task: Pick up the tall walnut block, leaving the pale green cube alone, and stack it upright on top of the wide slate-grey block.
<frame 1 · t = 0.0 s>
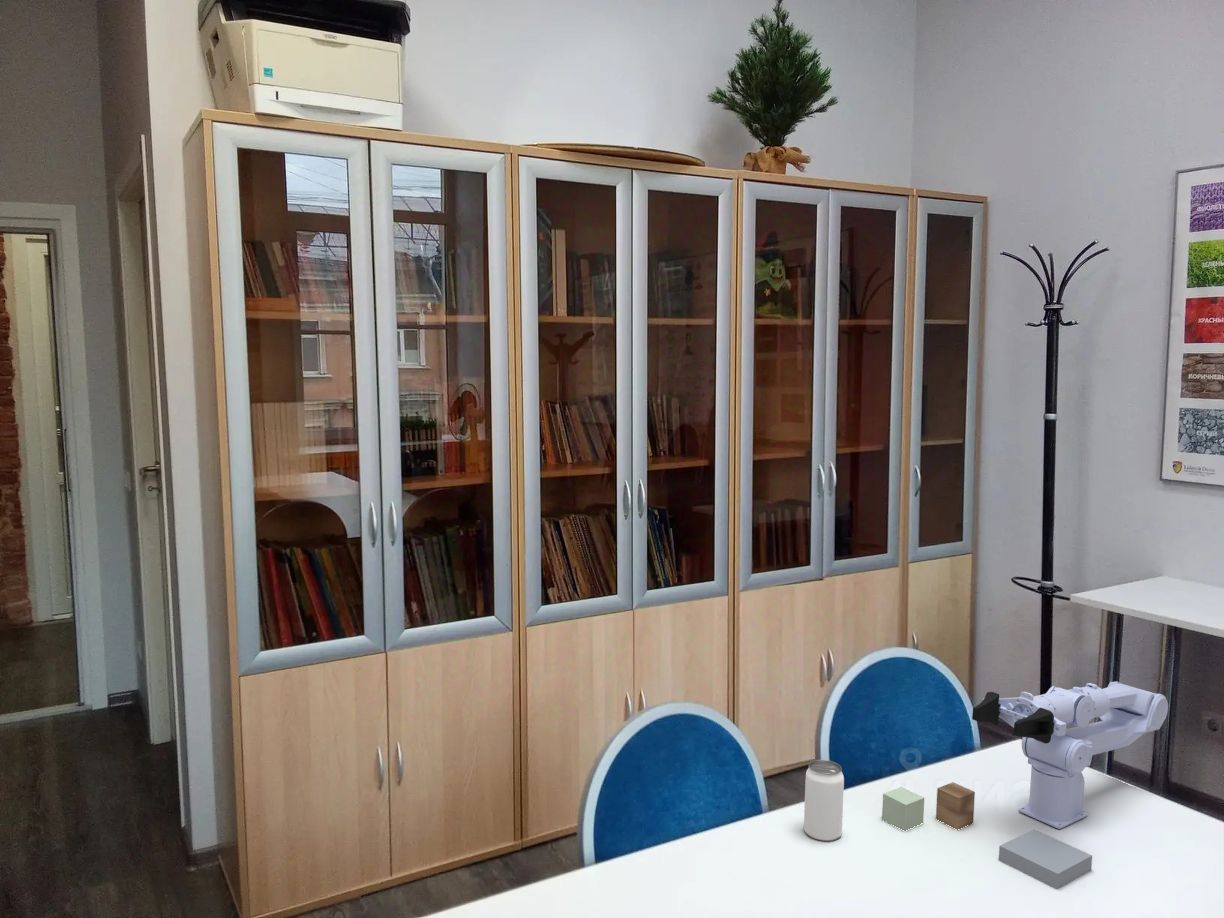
hand: (994, 721, 153), 22 cm above the table, tool horizontal, fingers open, 7 cm apart
grey block: (1044, 868, 149), on the table
can: (822, 833, 158), on the table
green cube: (902, 822, 162), on the table
walnut block: (954, 822, 163), on the table
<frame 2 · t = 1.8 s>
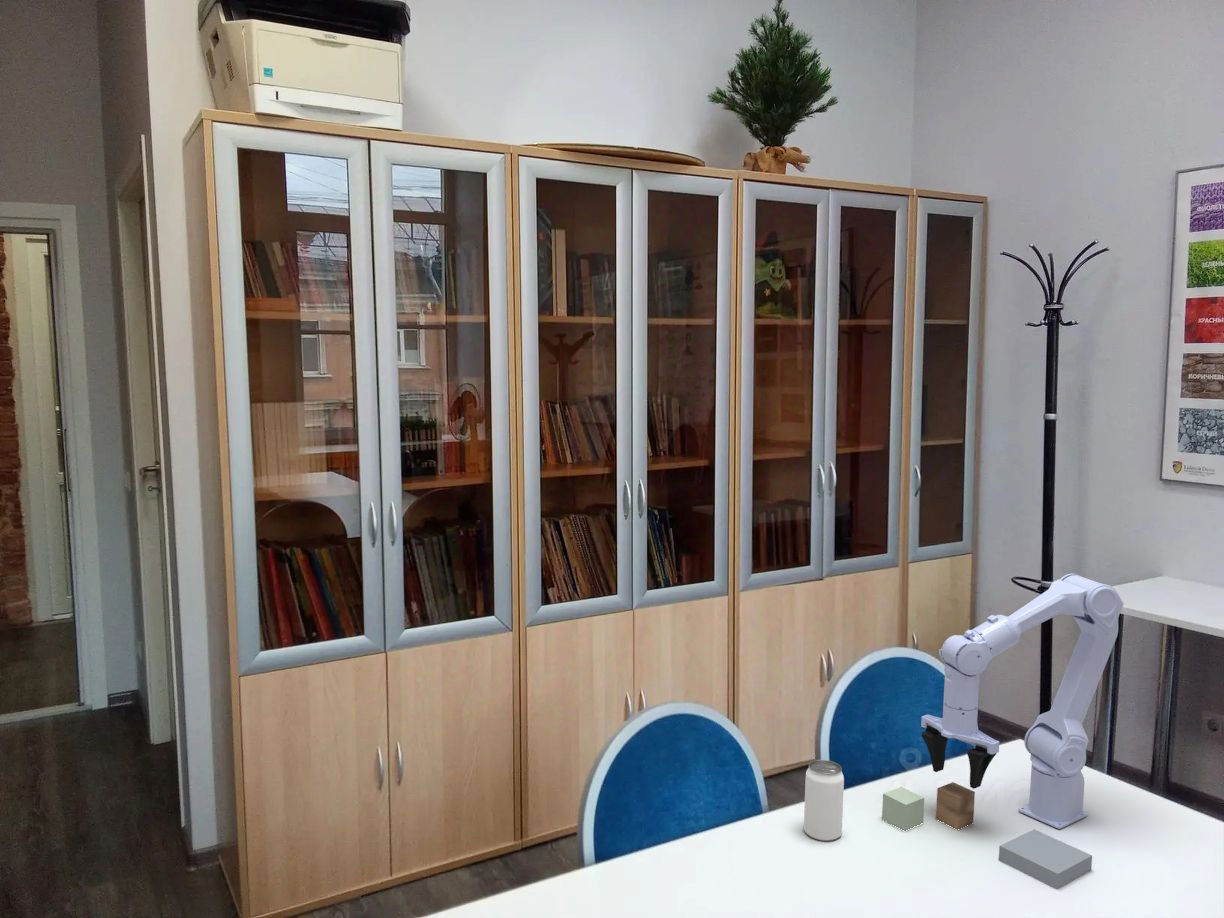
hand: (956, 778, 162), 8 cm above the table, tool pointing down, fingers open, 7 cm apart
nothing on the table moved.
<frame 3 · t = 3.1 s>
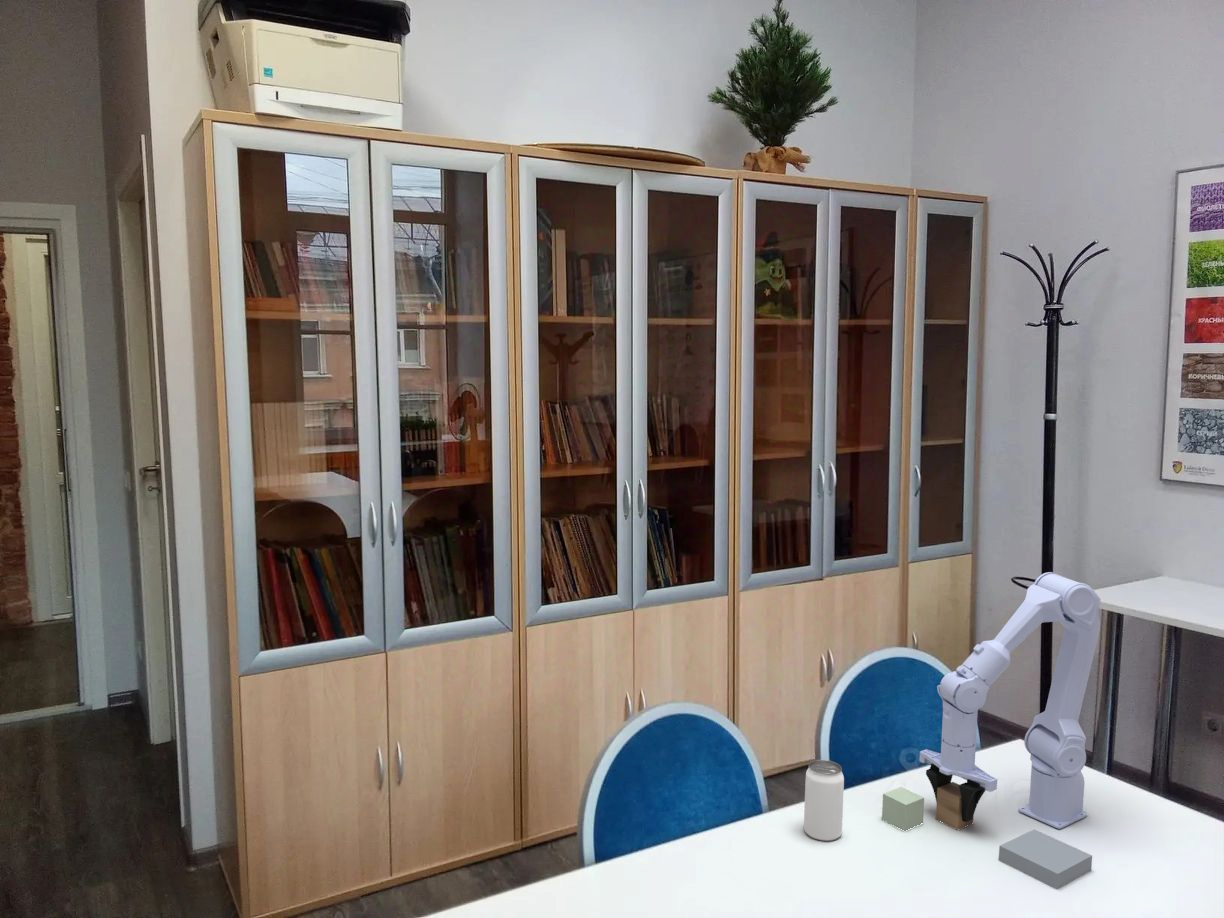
hand: (954, 814, 163), 1 cm above the table, tool pointing down, fingers closed on walnut block, 4 cm apart
walnut block: (954, 821, 163), on the table, touching gripper
everything else where it was.
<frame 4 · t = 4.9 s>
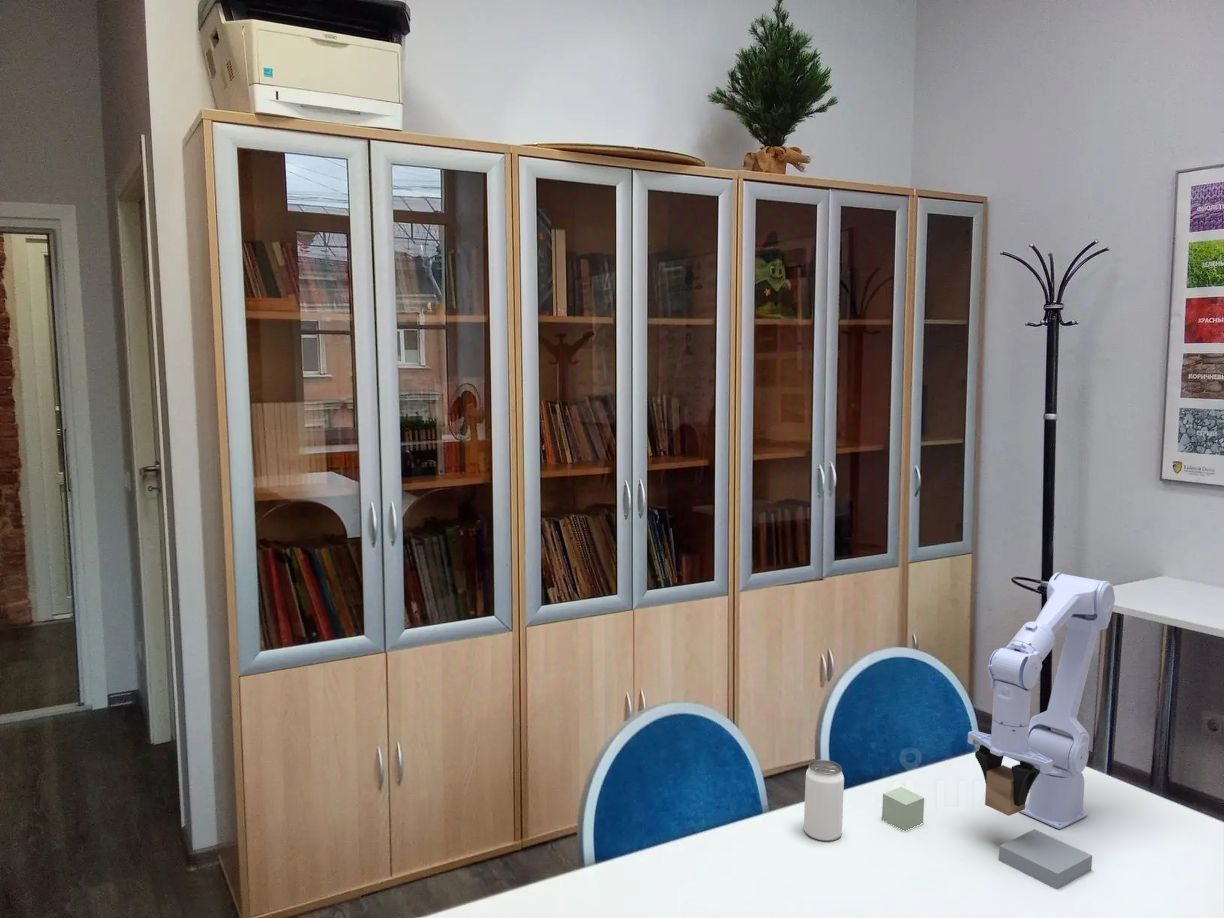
hand: (1006, 798, 154), 8 cm above the table, tool pointing down, fingers closed on walnut block, 4 cm apart
walnut block: (1004, 806, 154), point 7 cm above the table, touching gripper
everything else where it was.
when the fingers open (5 cm above the table, at t = 6.7 s): walnut block stays where it is, resting on grey block.
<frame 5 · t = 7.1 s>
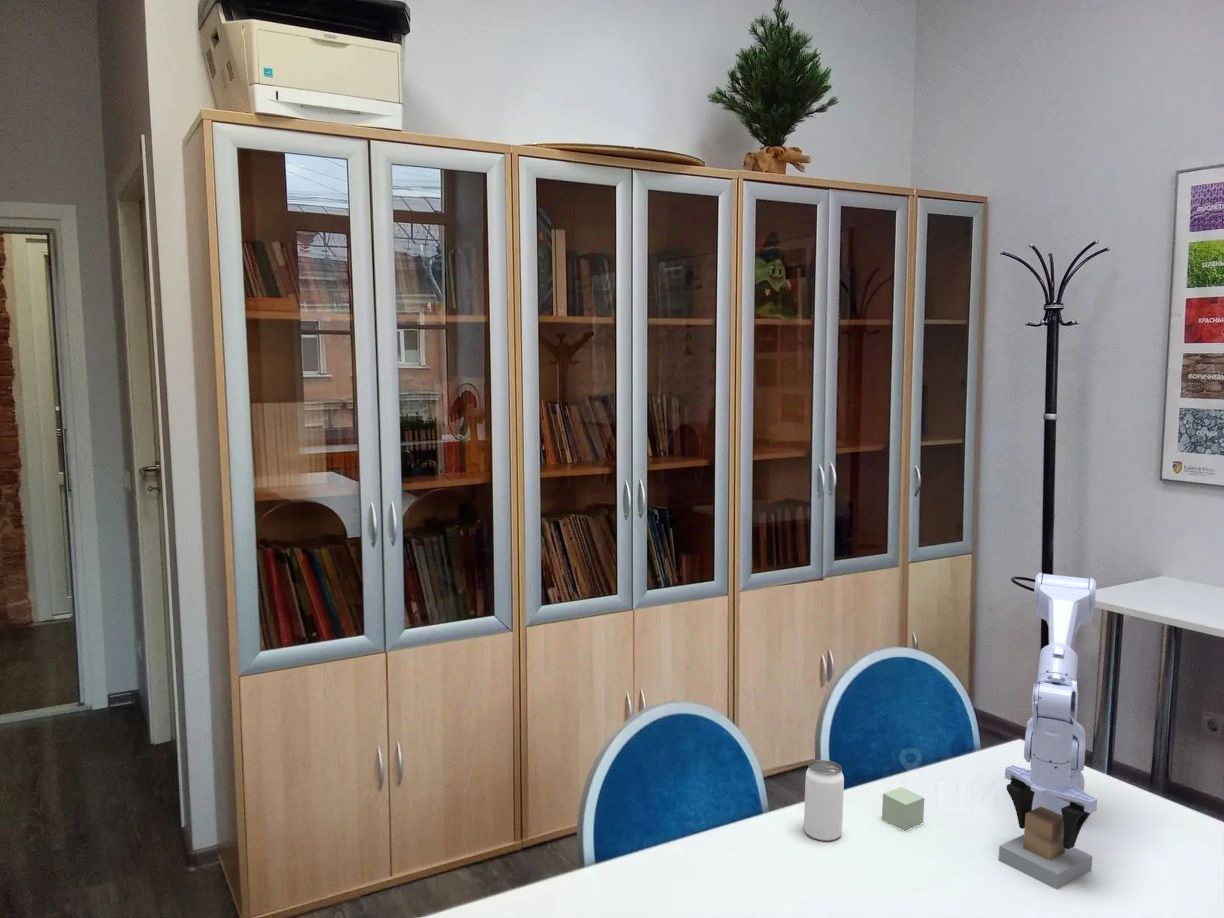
hand: (1046, 836, 148), 5 cm above the table, tool pointing down, fingers open, 7 cm apart
grey block: (1044, 868, 149), on the table, touching walnut block
walnut block: (1044, 850, 148), point 2 cm above the table, touching grey block
everything else where it was.
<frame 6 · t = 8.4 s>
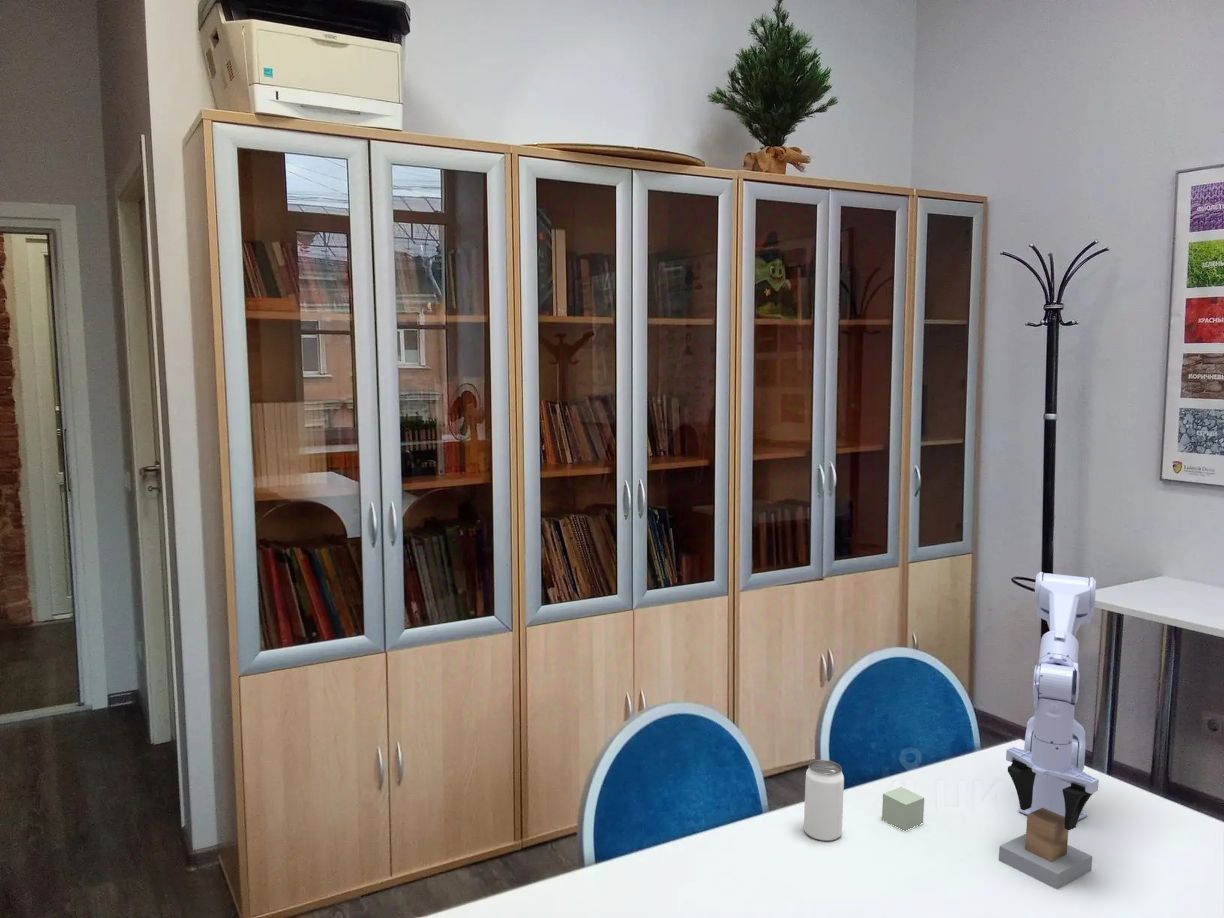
hand: (1047, 817, 148), 8 cm above the table, tool pointing down, fingers open, 7 cm apart
nothing on the table moved.
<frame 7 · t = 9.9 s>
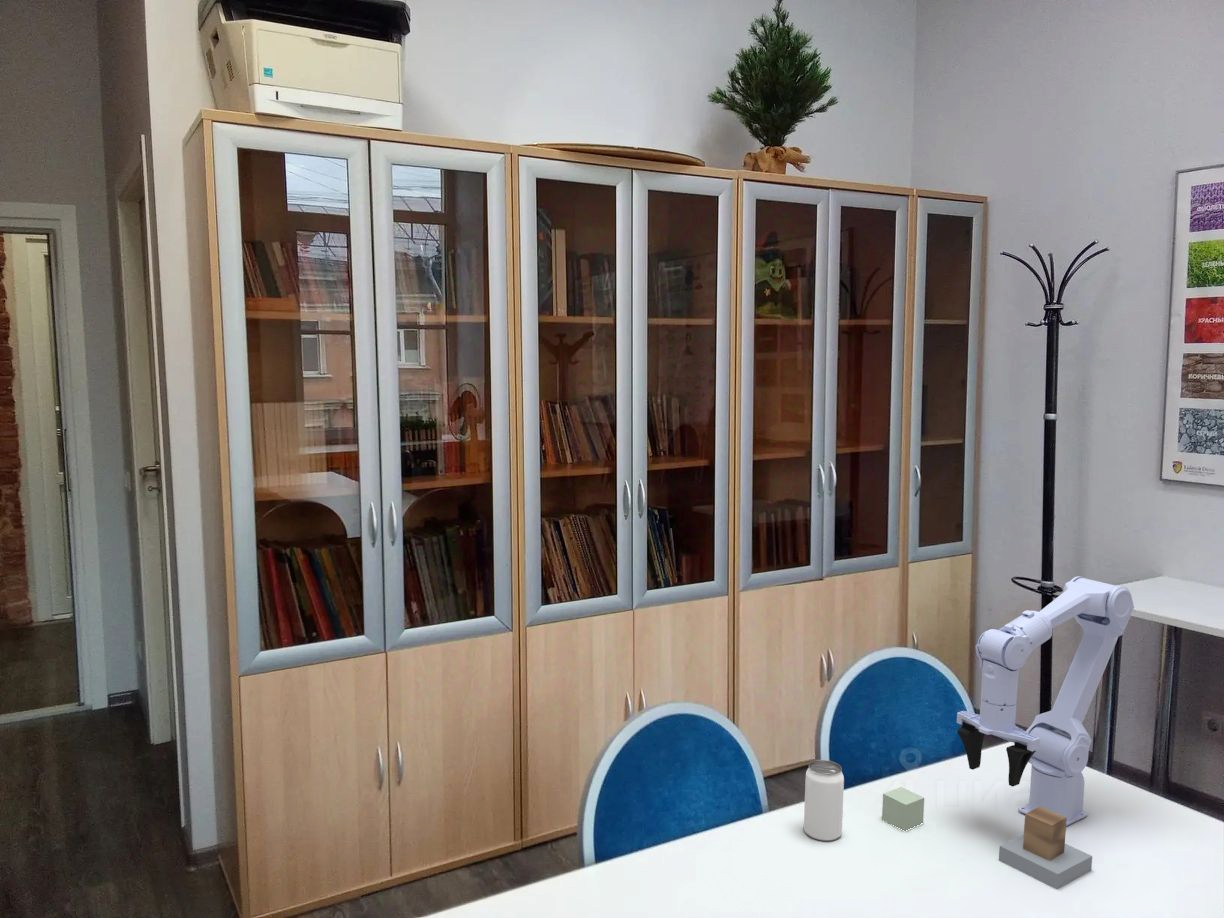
hand: (993, 776, 158), 10 cm above the table, tool pointing down, fingers open, 7 cm apart
nothing on the table moved.
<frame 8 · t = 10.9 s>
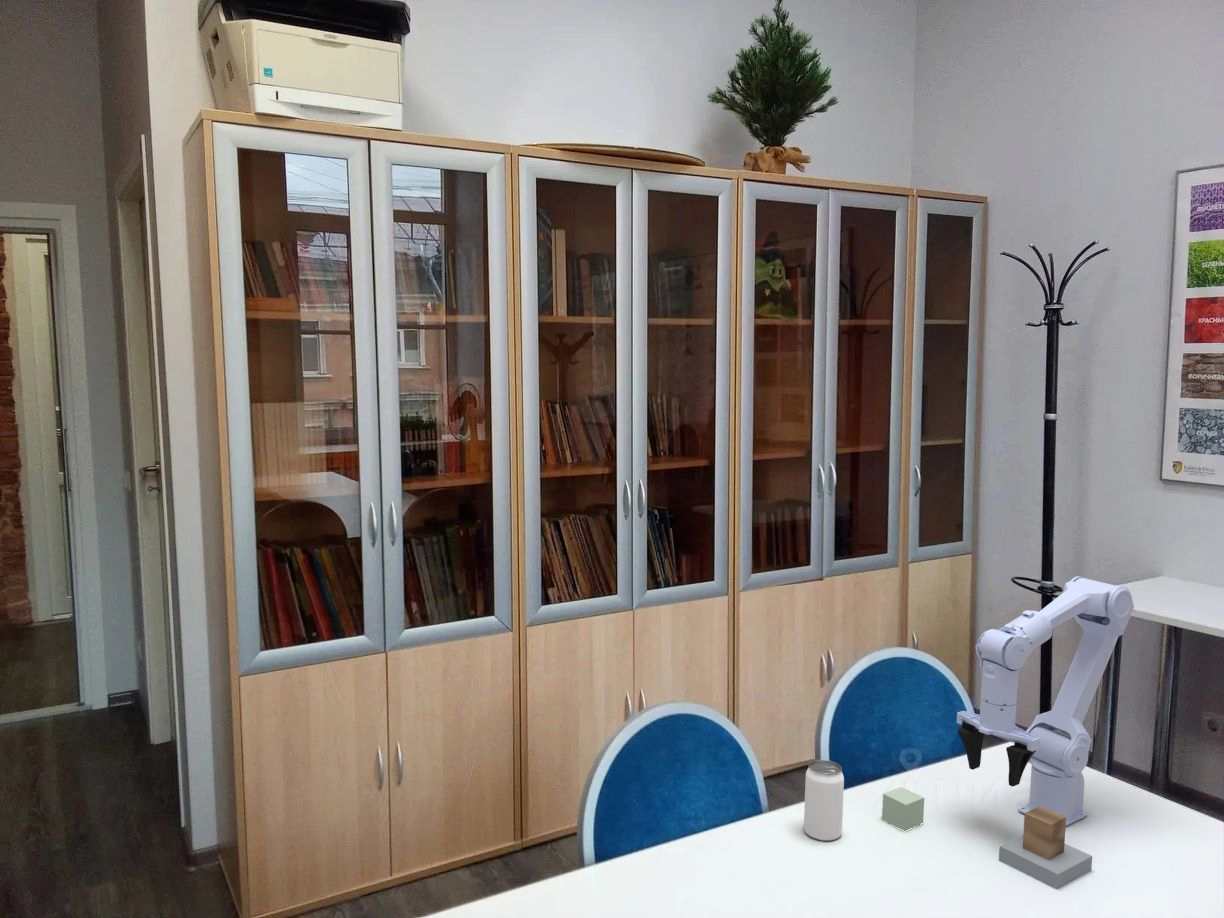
hand: (993, 776, 158), 10 cm above the table, tool pointing down, fingers open, 7 cm apart
nothing on the table moved.
at the end: walnut block 0.3 cm off-centre on the grey block, point 3.0 cm above the grey block's base; walnut block tilted 0°; the gripper is holding nothing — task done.
